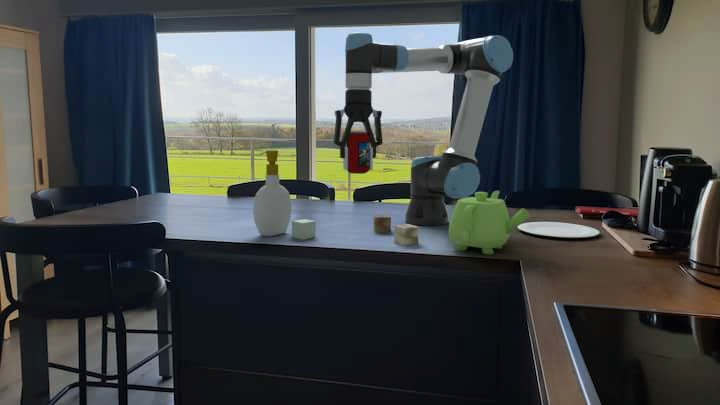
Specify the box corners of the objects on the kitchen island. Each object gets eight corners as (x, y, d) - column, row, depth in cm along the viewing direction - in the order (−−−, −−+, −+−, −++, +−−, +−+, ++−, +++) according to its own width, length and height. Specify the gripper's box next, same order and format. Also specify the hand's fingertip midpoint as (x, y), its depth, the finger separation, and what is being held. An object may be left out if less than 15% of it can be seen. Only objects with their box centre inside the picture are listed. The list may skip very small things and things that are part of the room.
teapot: (516, 263, 134) (519, 200, 132) (436, 252, 145) (438, 194, 143) (540, 245, 155) (544, 190, 153) (469, 236, 166) (471, 185, 164)
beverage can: (367, 174, 153) (367, 132, 151) (344, 173, 154) (344, 131, 153) (371, 172, 160) (371, 131, 158) (349, 171, 161) (349, 131, 159)
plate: (600, 230, 179) (600, 225, 179) (598, 245, 157) (599, 239, 157) (523, 223, 190) (523, 219, 189) (511, 237, 167) (511, 231, 167)
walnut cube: (388, 229, 176) (388, 214, 175) (390, 232, 171) (390, 217, 170) (373, 229, 175) (373, 214, 175) (375, 232, 171) (375, 217, 170)
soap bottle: (277, 228, 175) (276, 148, 171) (298, 232, 170) (297, 149, 166) (244, 236, 163) (243, 150, 159) (266, 240, 158) (264, 151, 154)
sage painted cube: (305, 234, 166) (305, 219, 166) (315, 237, 163) (315, 221, 162) (292, 237, 163) (292, 220, 162) (302, 239, 160) (302, 223, 159)
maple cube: (408, 240, 160) (408, 224, 159) (418, 243, 156) (418, 226, 155) (394, 242, 157) (394, 225, 157) (403, 245, 153) (404, 228, 152)
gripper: (387, 90, 160) (386, 168, 163) (322, 89, 155) (322, 169, 158) (395, 89, 152) (393, 170, 156) (327, 87, 148) (327, 171, 151)
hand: (357, 169), depth 157 cm, fingers closed on beverage can, 7 cm apart
